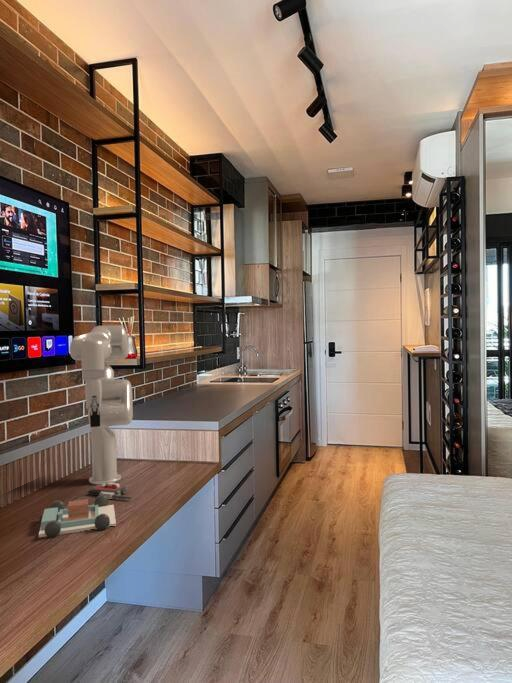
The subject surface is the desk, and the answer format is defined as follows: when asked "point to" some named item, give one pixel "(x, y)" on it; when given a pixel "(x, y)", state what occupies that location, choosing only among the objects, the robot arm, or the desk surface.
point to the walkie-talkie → (109, 490)
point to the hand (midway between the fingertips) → (95, 424)
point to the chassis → (58, 520)
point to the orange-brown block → (78, 510)
